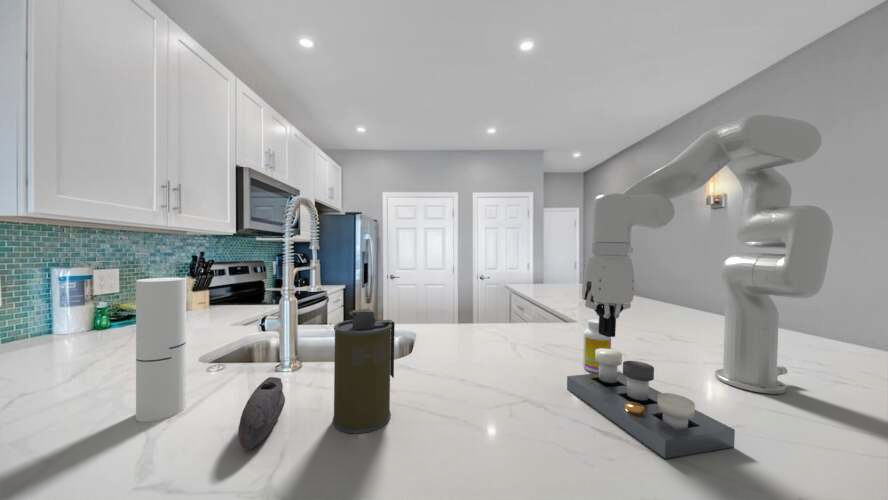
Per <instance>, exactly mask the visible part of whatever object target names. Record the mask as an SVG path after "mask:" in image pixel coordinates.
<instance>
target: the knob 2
mask: <svg viewBox="0 0 888 500" xmlns="http://www.w3.org/2000/svg"><path fill="white" fill-rule="evenodd" d="M695 404H696V403H695V402H694V401H693V400H691V399H690V398H688V397H685V396H684V395H680V394H676V393H671V392H670V393H669V392H661V393H660V394H658V400H657V408H658V410H660V411H661V412H662V413H663V417H662V421H663V422H665V423H667V424H668V425H670V426H672V427H673V428H675V429H677V430H678V429H685V428H688V419H693V418H694V412H695V410H696V407H695V406H696V405H695Z"/></svg>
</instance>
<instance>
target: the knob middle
mask: <svg viewBox="0 0 888 500" xmlns="http://www.w3.org/2000/svg"><path fill="white" fill-rule="evenodd" d="M622 373H623V374H624V375H625V376H626V377H627V395H628V396H629V397H631V398H633V399H637V400H648V390H649V387H650V386H649V384H650V382H652V381H653V380H655V367H654V366H653V365H652V364H649V363H647V362H643V361H637V360H625V361H622Z"/></svg>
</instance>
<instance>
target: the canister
mask: <svg viewBox="0 0 888 500" xmlns="http://www.w3.org/2000/svg"><path fill="white" fill-rule="evenodd" d="M348 315H349V316H350V317H352V319H348V320H343V321H340V322H338V323H336V324H335V325H334V326H333V330H334V331H333V332H334V364H333V365H334V367H333V368H334V374H333V375H334V377H333V378H334V379H333V380H334V381H333V385H334V386H333V387H334V388H333V389H334V390H333V417H332V424H333V425H334V427H335V428H336V430H338V431H340V432H343V433H347V434H366V433H369V432H374V431H376V430H378V429H380V428H382V427H384V426H385V425H386V424H387V423H388V422H389V421H390V419H391V417H392V414H391V410H390V407H391V406H390V405H391V401H390V400H391V396H390V395H391V377H392V379H395V378H394V377H395V326H396V325H395V322H394V321H393V320H392V319H379V318H375V313H374V311H372V310H371V309H369V308H364V309H355V310H354V309H353V310H351V311H349V312H348Z"/></svg>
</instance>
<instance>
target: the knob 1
mask: <svg viewBox="0 0 888 500" xmlns="http://www.w3.org/2000/svg"><path fill="white" fill-rule="evenodd" d="M595 360H596V361H597V362H599V379H600V380H602V381H604V382H608V383H616V382H617V372H618V367H619V366H621V365H623V353H622V352H621V351H619V350H615V349H612V348H611V349H604V348H601V349H596V350H595Z"/></svg>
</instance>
